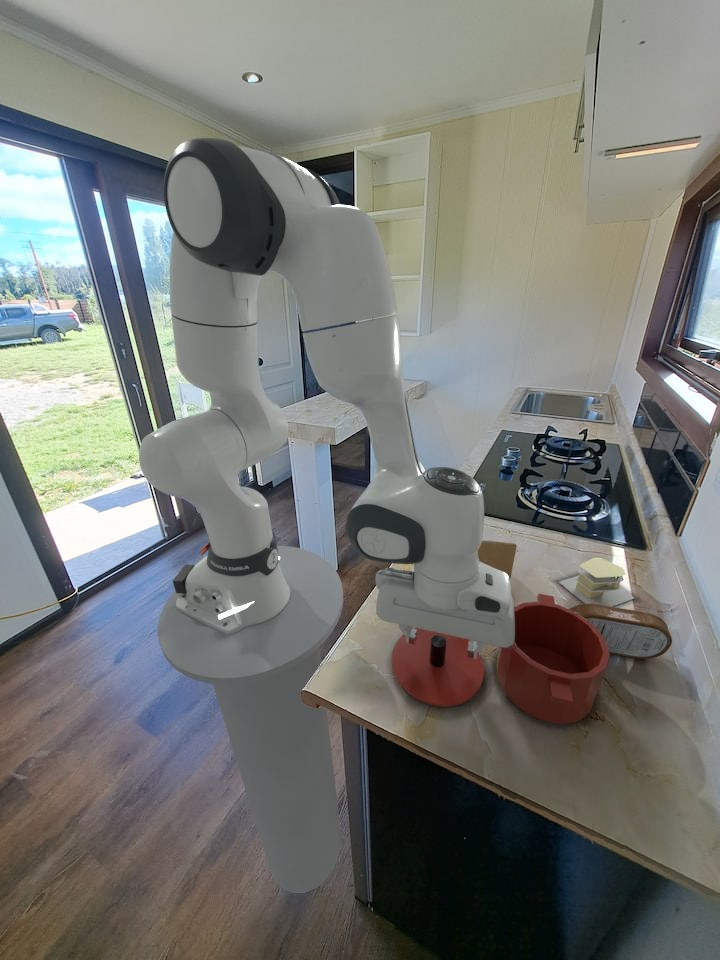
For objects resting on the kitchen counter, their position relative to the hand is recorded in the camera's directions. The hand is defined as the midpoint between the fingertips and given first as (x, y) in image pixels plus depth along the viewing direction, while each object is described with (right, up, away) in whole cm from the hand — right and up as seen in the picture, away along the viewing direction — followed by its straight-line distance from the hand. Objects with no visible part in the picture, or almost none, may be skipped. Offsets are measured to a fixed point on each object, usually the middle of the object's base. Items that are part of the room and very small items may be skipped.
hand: (440, 647), depth 60 cm
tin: (+29, -2, +4) cm, 29 cm away
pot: (+16, -5, -1) cm, 16 cm away
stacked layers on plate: (+34, +4, +16) cm, 38 cm away
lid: (0, -3, +2) cm, 4 cm away
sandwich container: (+12, +5, +20) cm, 24 cm away
